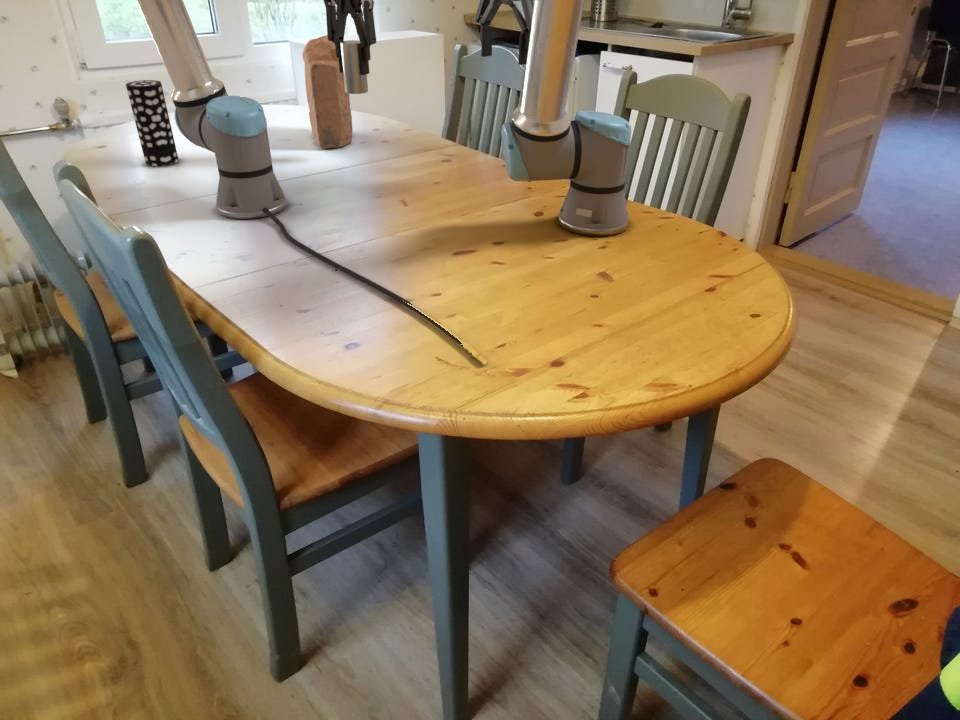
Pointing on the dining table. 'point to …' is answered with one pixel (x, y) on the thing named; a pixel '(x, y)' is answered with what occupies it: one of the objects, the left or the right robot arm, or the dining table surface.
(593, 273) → the dining table surface
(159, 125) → the black white spotted cylinder
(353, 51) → the tin
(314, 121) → the stone
